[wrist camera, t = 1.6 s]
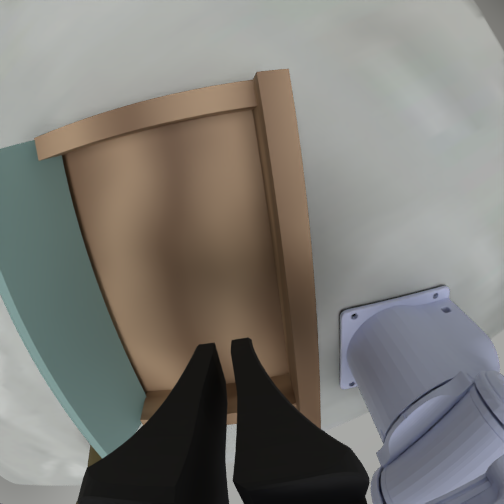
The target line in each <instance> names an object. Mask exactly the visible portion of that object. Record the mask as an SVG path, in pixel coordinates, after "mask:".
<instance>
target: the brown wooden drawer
mask: <svg viewBox="0 0 504 504" xmlns="http://www.w3.org/2000/svg"><path fill="white" fill-rule="evenodd" d="M34 139H35V145H36V150H37V155H38V160H39V161H40V160H44V159H48V158H52V157H56V156H60V155H62V160H63V165H64V169H65V174H66V178H67V182H68V187H69V191H70V195H71V199H72V203H73V206H74V210H75V214H76V217H77V221H78V224H79V228H80V231H81V235H82V238H83V241H84V245H85V248H86V251H87V254H88V257H89V260H90V263H91V266H92V269H93V272H94V275H95V278H96V280H97V283H98V286H99V289H100V292H101V294H102V297H103V300H104V302H105V305H106V307H107V310H108V312H109V315H110V317H111V320H112V322H113V325H114V327H115V330H116V332H117V334H118V337H119V339H120V341H121V344H122V346H123V348H124V350H125V353H126V355H127V357H128V359H129V361H130V363H131V366H132V368H133V370H134V372H135V374H136V376H137V378H138V380H139V382H140V384H141V386H142V388H143V390H144V392H145V394H146V398H145V401H144V405H143V410H142V414H141V418H140V421H141V422H142V424H143V425H144V424H145V423H146V422H147V421H148V420H149V419H150V418H151V417H152V416H153V414H154V413H155V412H156V411H157V410H158V408H159V407H160V406H161V405H162V403H163V402H164V401H165V399H166V398H167V396H168V395H169V394H170V392H171V391H172V389H173V388H174V386H175V385H176V383H177V382H178V380H179V378H180V377H181V375H182V373H183V372H184V370H185V368H186V366H187V365H188V363H189V361H190V359H191V357H192V355H193V353H194V351H195V349H196V347H197V346H198V345H199V344H207V343H214V342H215V345H216V349H217V352H218V356H219V359H220V363H221V366H222V370H223V373H224V377H225V380H226V389H227V403H228V406H227V425H229V424H237V390H236V383H235V377H234V370H233V364H232V358H231V341H232V340H235V339H241V338H247V337H248V338H250V339H252V344H253V348H254V350H255V353H256V355H257V357H258V359H259V361H260V362H261V364H262V366H263V367H264V369H265V371H266V372H267V374H268V375H269V377H270V378H271V380H272V381H273V382H274V384H275V385H276V386H277V388H278V389H279V390H280V391H281V393H282V394H283V395H284V396H285V397H286V398H287V399H288V400H289V402H290V403H291V404H292V405H293V406H294V407H295V408H296V409H297V410H298V411H299V412H301V413H302V414H303V415H304V416H305V417H306V418H308V419H309V420H310V421H311V422H312V423H314V424H315V425H316V426H317V427H318V428H320V429H321V413H320V375H319V350H318V330H317V313H316V298H315V284H314V271H313V259H312V247H311V237H310V226H309V216H308V207H307V198H306V189H305V180H304V172H303V164H302V156H301V148H300V141H299V133H298V126H297V119H296V113H295V106H294V99H293V93H292V87H291V81H290V75H289V69H280V70H270V71H261V72H257V73H256V75H255V77H254V78H253V80H248V81H241V82H234V83H227V84H221V85H215V86H210V87H204V88H199V89H194V90H189V91H184V92H180V93H175V94H171V95H166V96H162V97H158V98H154V99H150V100H146V101H142V102H139V103H135V104H131V105H128V106H124V107H121V108H117V109H114V110H111V111H107V112H104V113H101V114H98V115H95V116H92V117H89V118H86V119H83V120H80V121H77V122H75V123H72V124H69V125H66V126H64V127H61V128H58V129H56V130H53V131H51V132H48V133H46V134H43V135H41V136H38V137H36V138H34Z"/></svg>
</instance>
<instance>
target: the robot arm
mask: <svg viewBox="0 0 504 504" xmlns="http://www.w3.org/2000/svg"><path fill="white" fill-rule="evenodd" d="M435 293H436V294H435ZM434 294H435V295H434ZM449 294H450V289H449V288H448V287H447V286H441V287H437V288H434V289H430V290H426V291H422V292H419V293H415V294H411V295H407V296H403V297H399V298H395V299H391V300H386V301H382V302H378V303H374V304H369V305H365V306H361V307H356V308H352V309H347V310H344V311H343V312H342V313H341V314H340V387H341V388H342V389H348V388H352V387H356V386H358V388H359V390H360V392H361V394H362V396H363V399H364V401H365V403H366V405H367V408H368V410H369V412H370V414H371V416H372V419H373V421H374V423H375V425H376V428H377V430H378V432H379V435H380V437H381V439H382V442H383V444H384V445H383V446H382V448H381V449H380V450H379V451H378V452H377V453H376V454H377V457H378V459H379V462H380V464H381V467H380V468H378V469H377V471H376V472H375V473H374V475H373V477H372V481H371V496H372V502H373V504H504V376H503V375H502V374H501V373H500V365H499V359H498V355H497V352H496V349H495V347H494V345H493V343H492V341H491V340H490V338H489V337H488V336H487V334H486V333H485V332H484V331H483V330H482V329H481V328H480V327H479V326H478V325H477V324H476V323H475V322H474V321H472V320H471V319H470V318H469V317H468V316H467V315H466V314H465V313H464V312H463V311H462V310H461V309H460V308H459V307H458V306H457V305H456V304H455V303H453V302H452V301H451V300H450V299H449ZM433 295H434V296H433ZM354 313H356V315H355V316H353V317H351V316H352V315H353V314H354ZM231 358H232V364H233V370H234V377H235V383H236V390H237V435H236V453H235V464H234V475H233V482H234V484H235V487H236V489H237V491H238V492H239V494H240V496H241V499H242V500H243V502H244V504H367V501H366V498H365V495H366V492H367V489H368V486H369V477H368V474H367V472H366V470H365V468H364V467H363V465H362V463H361V462H360V460H359V459H358V458H357V456H356V455H355V454H354V452H353V451H352V450H351V449H350V448H349V447H348V446H346V445H344V444H343V443H341V442H339V441H337V440H336V439H334V438H333V437H331V436H330V435H328V434H327V433H325V432H324V431H323V430H321V429H320V428H318V427H317V426H316V425H315V424H314V423H312V422H311V421H310V420H309V419H308V418H306V417H305V416H304V415H303V414H302V413H301V412H299V411H298V410H297V409H296V408H295V407H294V406H293V405H292V404H291V403H290V402H289V400H288V399H287V398H286V397H285V396H284V395H283V394H282V393H281V391H280V390H279V389H278V388H277V386H276V385H275V384H274V382H273V381H272V380H271V378H270V377H269V375H268V374H267V372H266V371H265V369H264V367H263V366H262V364H261V362H260V361H259V359H258V357H257V355H256V353H255V350H254V348H253V344H252V339H250V338H248V337H247V338H241V339H235V340H232V341H231ZM351 382H352V383H351ZM227 406H228V403H227V389H226V380H225V377H224V373H223V370H222V366H221V363H220V359H219V356H218V352H217V349H216V345H215V342H214V343H207V344H199V345H198V346H197V347H196V349H195V351H194V353H193V355H192V357H191V359H190V361H189V363H188V365H187V366H186V368H185V370H184V372H183V373H182V375H181V377H180V378H179V380H178V382H177V383H176V385H175V386H174V388H173V389H172V391H171V392H170V394H169V395H168V396H167V398H166V399H165V401H164V402H163V403H162V405H161V406H160V407H159V408H158V410H157V411H156V412H155V413H154V414H153V416H152V417H151V418H150V419H149V420H148V421H147V422H146V423H145V424H144V425H143V426H142V427H141V428H140V429H139V430H138V431H137V432H136V433H135V434H134V435H133V436H132V437H130V438H129V439H128V440H127V441H126V442H124V443H123V444H122V445H121V446H119V447H118V448H117V449H115V450H114V451H113V452H111V453H110V454H108V455H107V456H105V457H104V458H102V459H101V460H99V461H97V462H96V463H94V464H93V465H91V466H89V467H87V470H86V472H85V475H84V477H83V481H82V485H81V489H80V493H79V497H78V501H77V503H78V504H229V499H228V490H227V478H226V466H225V465H226V464H225V447H226V427H227ZM0 504H2V503H0Z"/></svg>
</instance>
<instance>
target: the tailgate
mask: <svg viewBox="0 0 504 504" xmlns="http://www.w3.org/2000/svg"><path fill="white" fill-rule="evenodd" d="M0 295H1V297H2V299H3V301H4V304H5V306H6V308H7V310H8V312H9V315H10V317H11V319H12V321H13V323H14V325H15V327H16V329H17V331H18V333H19V335H20V337H21V339H22V341H23V343H24V344H25V346H26V348H27V350H28V352H29V354H30V355H31V357H32V359H33V361H34V362H35V364H36V366H37V368H38V369H39V371H40V373H41V374H42V376H43V378H44V379H45V381H46V382H47V384H48V386H49V387H50V389H51V390H52V392H53V393H54V395H55V396H56V398H57V399H58V401H59V402H60V404H61V405H62V407H63V408H64V410H65V411H66V413H67V414H68V415H69V417H70V418H71V420H72V421H73V422H74V424H75V425H76V426H77V428H78V429H79V430H80V432H81V433H82V434H83V436H84V437H85V438H86V439H87V441H88V442H89V443H90V444H91V446H92V447H93V448H94V449H95V451H96V452H97V453H98V454H99V455H100V457H101V458H104V457H105V456H107V455H108V454H110V453H111V452H113V451H114V450H115V449H117V448H118V447H119V446H121V445H122V444H123V443H124V442H126V441H127V440H128V439H129V438H130V437H132V436H133V435H134V434H135V432H136V431H137V429H138V428H139V426H140V424H141V423H142V422H141V421H140V418H141V414H142V410H143V405H144V401H145V398H146V394H145V392H144V390H143V388H142V386H141V384H140V382H139V380H138V378H137V376H136V374H135V372H134V370H133V368H132V366H131V363H130V361H129V359H128V357H127V355H126V353H125V350H124V348H123V346H122V344H121V341H120V339H119V337H118V334H117V332H116V330H115V327H114V325H113V322H112V320H111V317H110V315H109V312H108V310H107V307H106V305H105V302H104V300H103V297H102V294H101V292H100V289H99V286H98V283H97V280H96V278H95V275H94V272H93V269H92V266H91V263H90V260H89V257H88V254H87V251H86V248H85V245H84V241H83V238H82V235H81V231H80V228H79V224H78V221H77V217H76V214H75V210H74V206H73V203H72V199H71V195H70V191H69V187H68V182H67V178H66V174H65V169H64V165H63V160H62V155H60V156H56V157H52V158H48V159H44V160H40V161H39V160H38V155H37V150H36V145H35V140H33V141H29V142H25V143H21V144H17V145H13V146H9V147H6V148H2V149H0Z"/></svg>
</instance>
